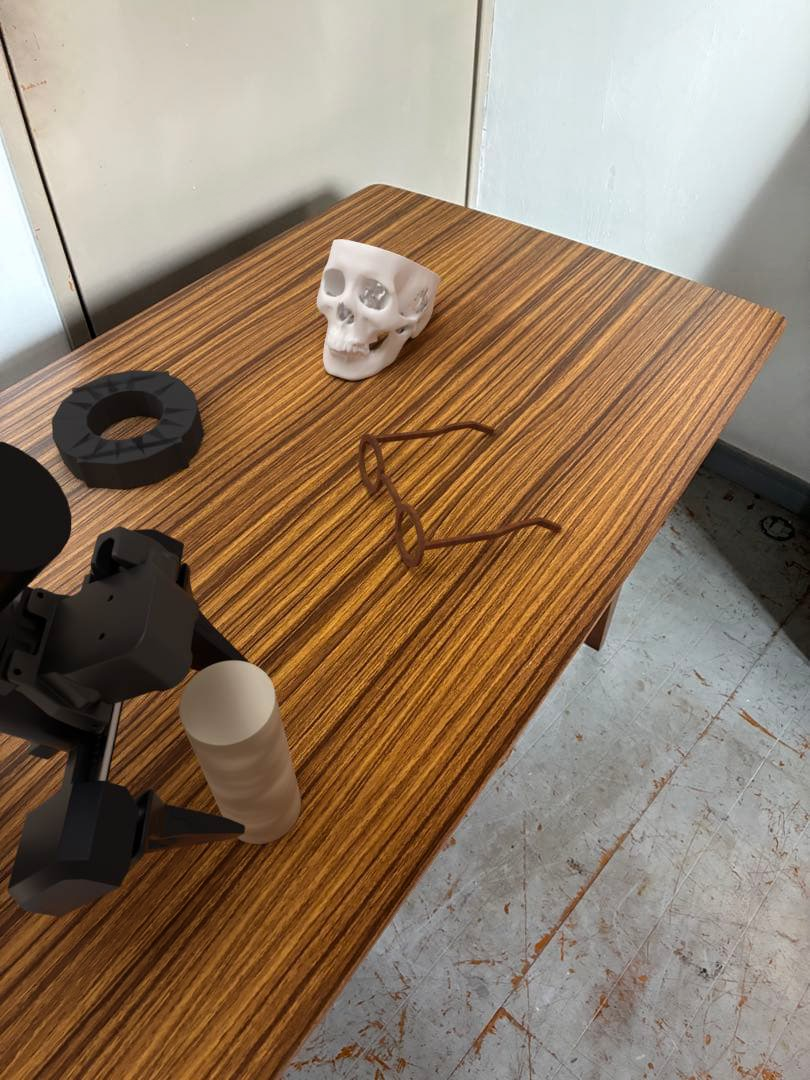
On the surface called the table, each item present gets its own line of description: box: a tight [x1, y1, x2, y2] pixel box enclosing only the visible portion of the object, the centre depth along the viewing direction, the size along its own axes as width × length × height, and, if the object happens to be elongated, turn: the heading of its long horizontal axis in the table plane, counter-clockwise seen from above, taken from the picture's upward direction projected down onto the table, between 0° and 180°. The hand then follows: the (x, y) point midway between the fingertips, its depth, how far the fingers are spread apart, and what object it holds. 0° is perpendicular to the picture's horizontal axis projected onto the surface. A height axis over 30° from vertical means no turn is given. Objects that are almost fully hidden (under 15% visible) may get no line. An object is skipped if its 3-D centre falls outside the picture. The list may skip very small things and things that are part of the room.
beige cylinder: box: [178, 661, 302, 845], centre depth 46 cm, size 5×5×13 cm
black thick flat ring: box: [51, 369, 205, 490], centre depth 71 cm, size 12×12×3 cm
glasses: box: [357, 420, 563, 569], centre depth 66 cm, size 13×13×5 cm
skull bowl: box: [316, 238, 442, 381], centre depth 80 cm, size 10×14×12 cm
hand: (247, 749), depth 45 cm, fingers open, 9 cm apart
